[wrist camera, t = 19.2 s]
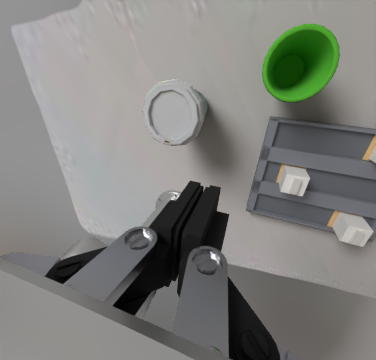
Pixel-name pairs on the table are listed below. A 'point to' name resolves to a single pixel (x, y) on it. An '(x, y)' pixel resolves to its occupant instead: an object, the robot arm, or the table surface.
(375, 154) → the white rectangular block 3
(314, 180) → the switch board
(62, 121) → the table surface
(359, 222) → the white stepped block
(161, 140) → the disposable coffee cup
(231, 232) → the table surface
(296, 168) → the white stepped block
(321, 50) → the cup
